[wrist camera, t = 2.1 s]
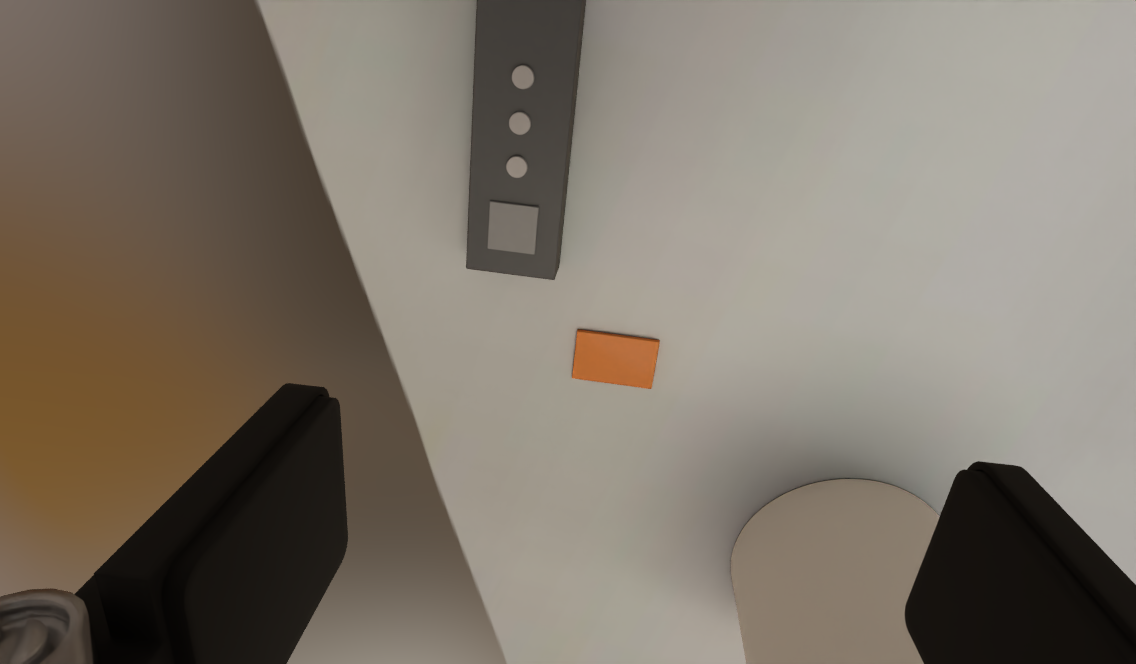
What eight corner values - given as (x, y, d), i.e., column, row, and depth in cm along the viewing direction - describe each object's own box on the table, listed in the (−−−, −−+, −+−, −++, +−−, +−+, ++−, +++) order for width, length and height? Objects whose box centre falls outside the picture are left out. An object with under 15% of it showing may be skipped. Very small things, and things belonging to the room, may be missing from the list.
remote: (487, -12, 30) (475, -16, 28) (586, -1, 30) (582, -5, 28) (475, 256, 36) (464, 270, 34) (559, 266, 36) (553, 282, 33)
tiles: (637, -171, 27) (637, -173, 27) (747, -160, 27) (748, -162, 27) (572, 375, 38) (571, 378, 38) (651, 386, 38) (651, 389, 38)
